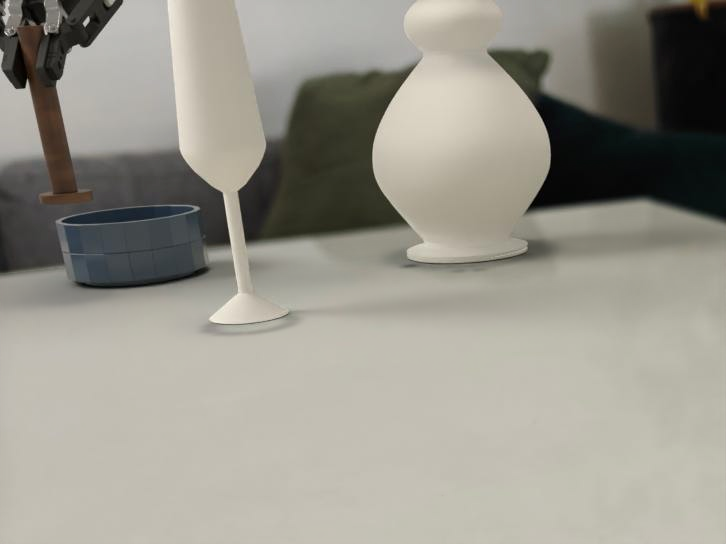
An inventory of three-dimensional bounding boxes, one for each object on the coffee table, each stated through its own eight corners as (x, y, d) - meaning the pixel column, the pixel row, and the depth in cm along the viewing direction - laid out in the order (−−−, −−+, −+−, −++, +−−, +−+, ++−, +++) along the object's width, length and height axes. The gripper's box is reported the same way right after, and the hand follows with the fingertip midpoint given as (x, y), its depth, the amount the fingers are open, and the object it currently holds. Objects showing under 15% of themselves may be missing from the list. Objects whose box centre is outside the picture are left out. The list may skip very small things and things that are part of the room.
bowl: (51, 293, 110) (36, 228, 108) (90, 268, 123) (78, 210, 120) (195, 283, 110) (184, 218, 108) (220, 259, 123) (210, 201, 120)
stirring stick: (33, 206, 100) (-7, 27, 93) (49, 200, 104) (11, 28, 98) (85, 202, 100) (48, 23, 93) (99, 197, 104) (64, 24, 98)
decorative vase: (585, 251, 113) (581, -39, 101) (423, 275, 106) (398, -32, 95) (504, 233, 127) (492, -23, 116) (357, 253, 121) (328, -16, 109)
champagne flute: (198, 325, 92) (139, -14, 81) (221, 308, 98) (168, -10, 87) (279, 322, 91) (230, -20, 80) (296, 304, 97) (253, -16, 86)
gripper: (-34, -109, 98) (-72, 51, 93) (116, -122, 96) (86, 40, 91) (11, -35, 105) (-22, 117, 100) (152, -46, 103) (126, 109, 98)
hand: (30, 80), depth 96 cm, fingers closed on stirring stick
